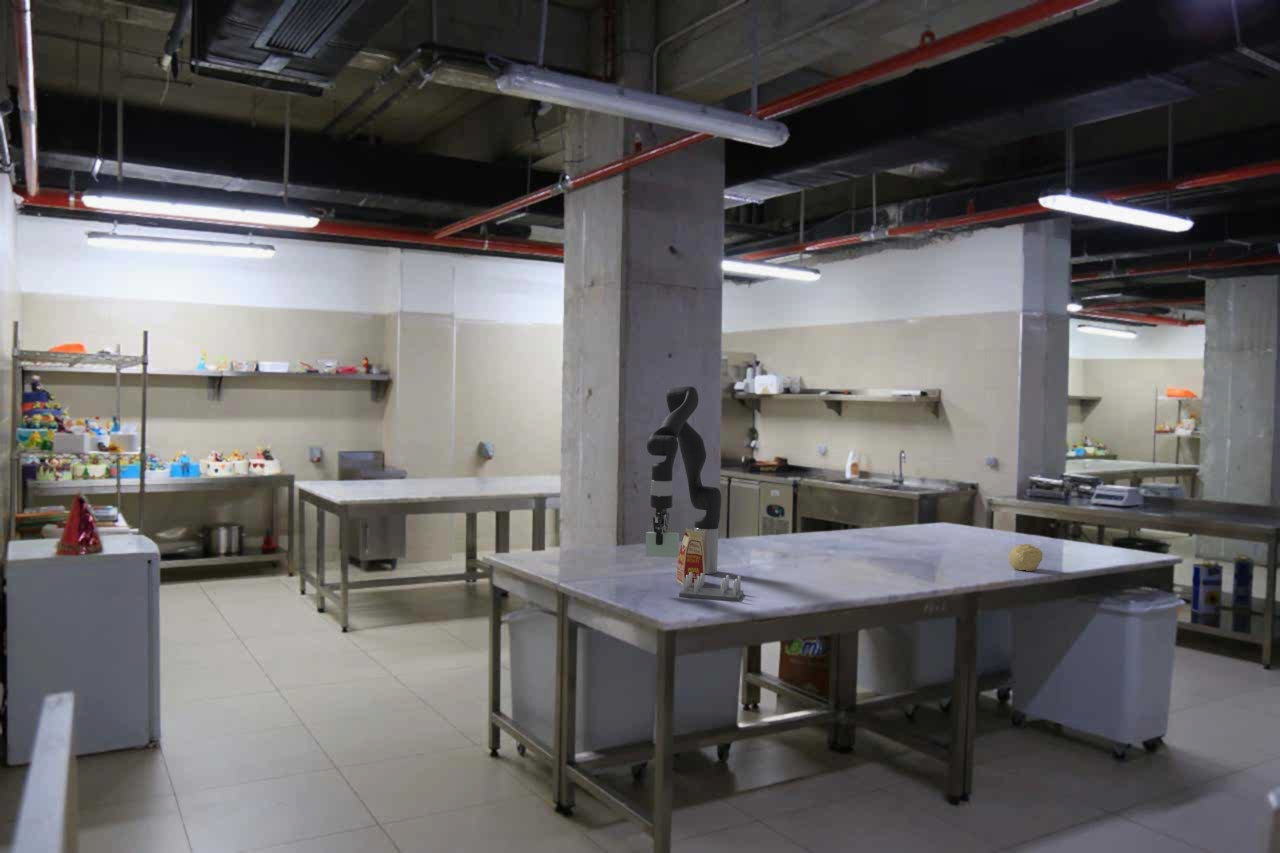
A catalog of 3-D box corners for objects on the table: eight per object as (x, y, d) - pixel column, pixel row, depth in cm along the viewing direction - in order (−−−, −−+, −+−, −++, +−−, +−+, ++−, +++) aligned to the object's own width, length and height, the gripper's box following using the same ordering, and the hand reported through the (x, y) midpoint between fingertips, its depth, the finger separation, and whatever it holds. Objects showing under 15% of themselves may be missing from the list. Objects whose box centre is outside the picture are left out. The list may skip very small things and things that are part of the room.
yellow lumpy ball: (1023, 573, 362) (1024, 546, 362) (1002, 567, 374) (1003, 542, 373) (1046, 572, 366) (1047, 545, 366) (1025, 566, 377) (1026, 541, 377)
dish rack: (686, 589, 314) (686, 572, 314) (743, 594, 309) (743, 576, 309) (679, 596, 303) (679, 578, 303) (738, 601, 298) (738, 582, 297)
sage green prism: (648, 554, 310) (648, 531, 310) (679, 556, 308) (679, 532, 307) (645, 556, 308) (645, 532, 307) (677, 557, 305) (677, 534, 304)
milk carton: (683, 585, 321) (684, 530, 321) (675, 580, 330) (676, 526, 330) (707, 584, 324) (708, 529, 324) (698, 579, 333) (699, 526, 332)
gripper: (656, 491, 315) (655, 540, 315) (645, 495, 301) (644, 546, 302) (676, 492, 313) (675, 541, 313) (667, 496, 299) (666, 547, 300)
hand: (660, 543), depth 308 cm, fingers closed on sage green prism, 3 cm apart
